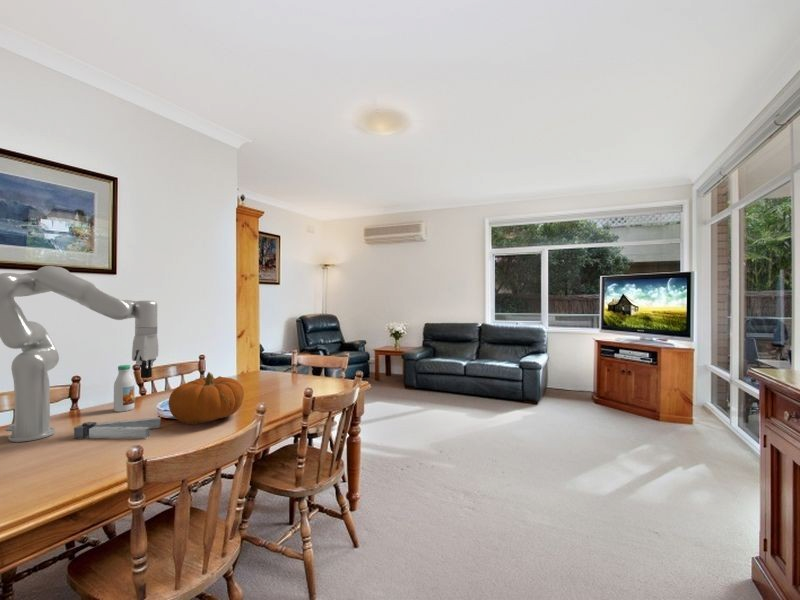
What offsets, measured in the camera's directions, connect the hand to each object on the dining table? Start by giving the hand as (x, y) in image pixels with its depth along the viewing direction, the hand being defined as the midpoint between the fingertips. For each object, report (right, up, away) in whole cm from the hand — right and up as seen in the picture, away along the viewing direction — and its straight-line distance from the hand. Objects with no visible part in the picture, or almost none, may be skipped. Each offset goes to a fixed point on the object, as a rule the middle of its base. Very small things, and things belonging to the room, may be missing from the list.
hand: (146, 377), depth 159 cm
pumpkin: (+21, -19, +8) cm, 29 cm away
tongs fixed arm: (-3, -19, -12) cm, 23 cm away
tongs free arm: (-2, -19, -7) cm, 20 cm away
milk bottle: (-23, -19, +21) cm, 36 cm away
